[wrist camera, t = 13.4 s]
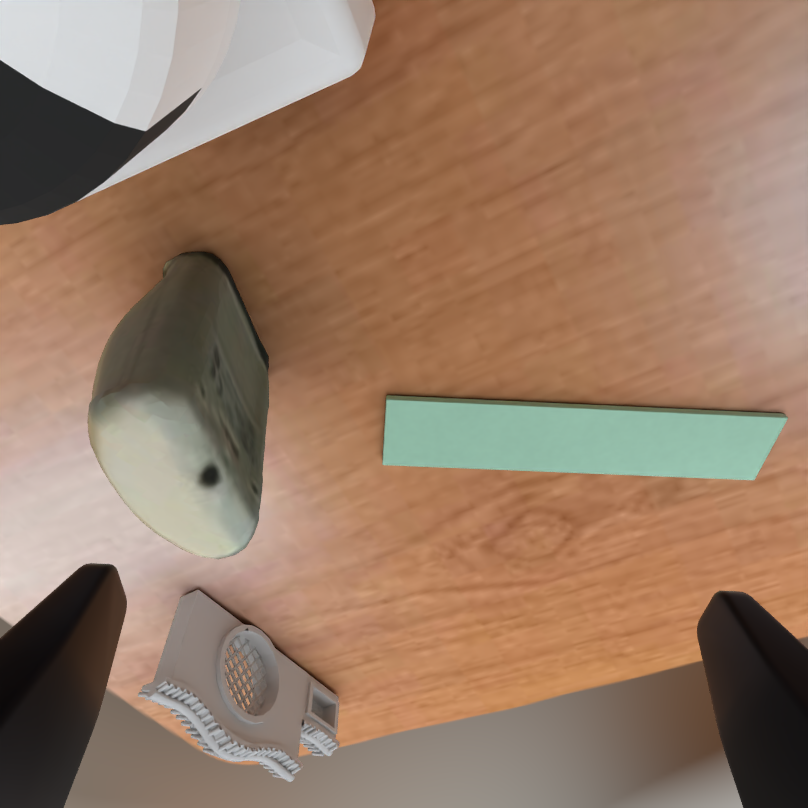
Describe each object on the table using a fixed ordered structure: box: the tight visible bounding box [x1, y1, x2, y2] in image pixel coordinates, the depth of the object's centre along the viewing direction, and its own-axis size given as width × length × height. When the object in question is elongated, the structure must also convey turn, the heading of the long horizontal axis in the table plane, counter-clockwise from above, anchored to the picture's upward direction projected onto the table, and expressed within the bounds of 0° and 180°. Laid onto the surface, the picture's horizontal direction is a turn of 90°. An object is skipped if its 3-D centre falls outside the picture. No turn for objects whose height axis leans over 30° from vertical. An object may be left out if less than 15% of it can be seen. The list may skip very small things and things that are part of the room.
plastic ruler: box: [383, 395, 788, 480], centre depth 24 cm, size 15×3×1 cm, turn 86°
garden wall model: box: [138, 590, 339, 782], centre depth 30 cm, size 12×2×6 cm, turn 31°
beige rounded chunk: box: [88, 252, 269, 559], centre depth 18 cm, size 6×5×8 cm
